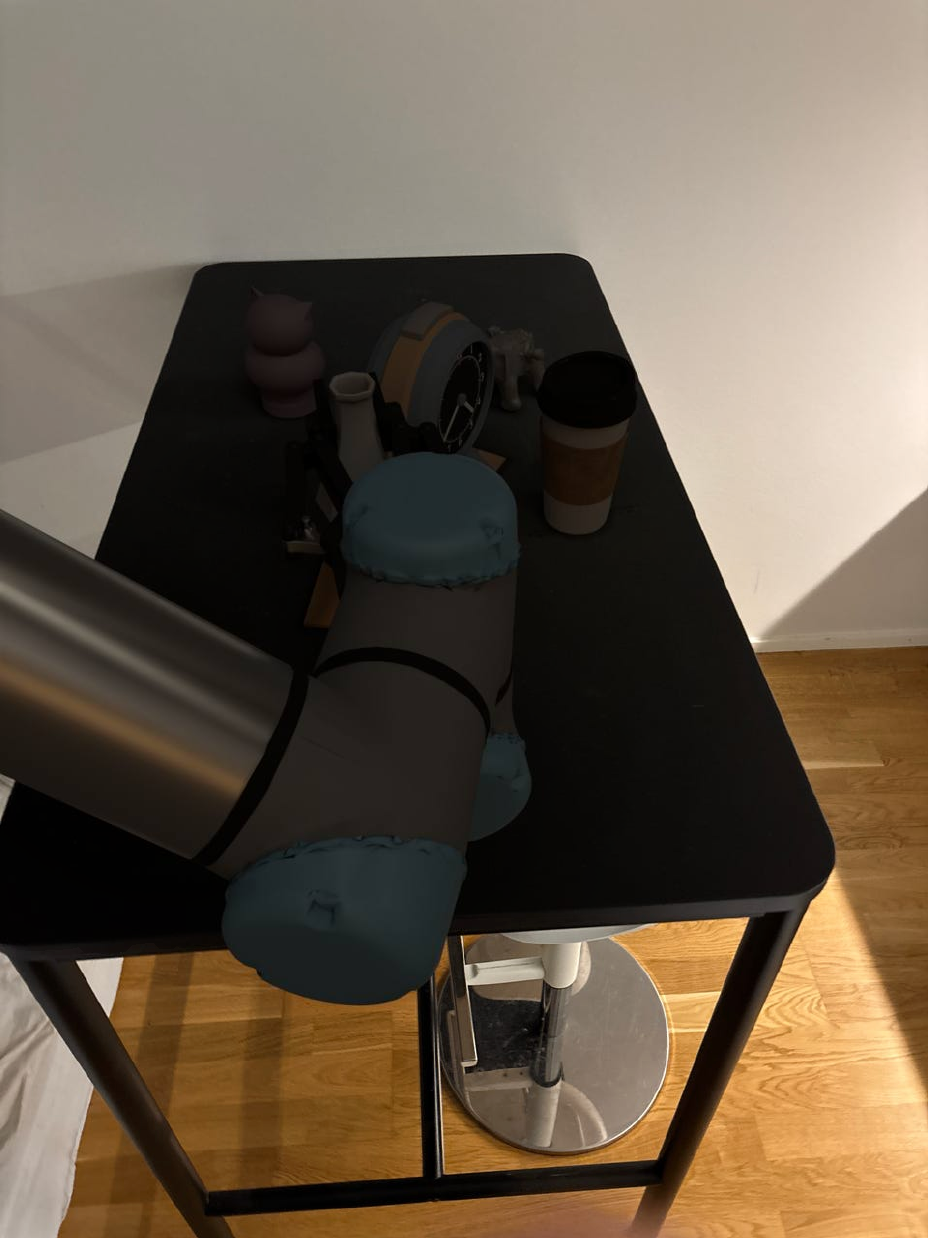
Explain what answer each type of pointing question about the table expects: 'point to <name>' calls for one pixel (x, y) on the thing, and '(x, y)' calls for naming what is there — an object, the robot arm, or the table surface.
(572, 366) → the coffee cup
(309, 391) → the cat figurine
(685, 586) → the table surface
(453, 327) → the alarm clock
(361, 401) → the flask
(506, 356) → the gray elephant figurine
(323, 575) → the wooden board
